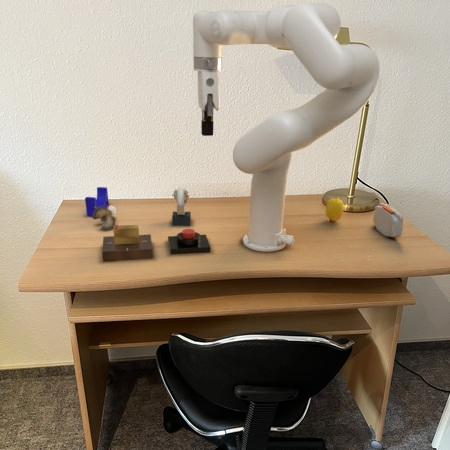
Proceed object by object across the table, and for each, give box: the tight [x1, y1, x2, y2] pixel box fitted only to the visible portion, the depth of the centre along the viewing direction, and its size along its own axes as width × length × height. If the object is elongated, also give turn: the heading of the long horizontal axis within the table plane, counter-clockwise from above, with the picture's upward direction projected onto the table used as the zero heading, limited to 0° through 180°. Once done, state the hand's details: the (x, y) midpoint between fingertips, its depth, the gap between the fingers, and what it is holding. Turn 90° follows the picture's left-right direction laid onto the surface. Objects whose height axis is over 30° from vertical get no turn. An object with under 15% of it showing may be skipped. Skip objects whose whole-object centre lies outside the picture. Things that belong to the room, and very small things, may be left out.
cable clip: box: [84, 186, 110, 218], centre depth 161 cm, size 12×4×6 cm, turn 172°
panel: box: [101, 233, 154, 263], centre depth 134 cm, size 13×11×3 cm
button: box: [181, 228, 196, 239], centre depth 137 cm, size 4×4×2 cm
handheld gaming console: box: [372, 202, 404, 238], centre depth 149 cm, size 14×3×8 cm, turn 12°
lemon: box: [325, 196, 344, 222], centre depth 157 cm, size 6×6×8 cm
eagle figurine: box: [92, 204, 117, 232], centre depth 150 cm, size 8×7×9 cm
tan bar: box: [113, 224, 140, 245], centre depth 132 cm, size 6×2×5 cm, turn 99°
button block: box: [167, 231, 211, 256], centre depth 138 cm, size 11×9×4 cm
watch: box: [171, 187, 192, 227], centre depth 152 cm, size 6×8×11 cm
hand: (207, 134), depth 141 cm, fingers closed
